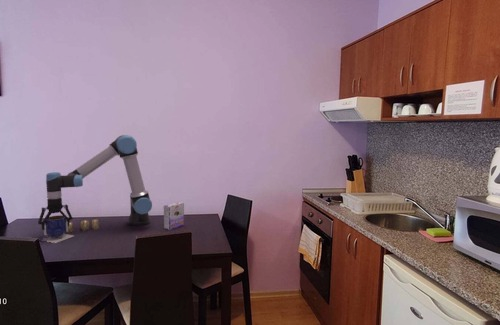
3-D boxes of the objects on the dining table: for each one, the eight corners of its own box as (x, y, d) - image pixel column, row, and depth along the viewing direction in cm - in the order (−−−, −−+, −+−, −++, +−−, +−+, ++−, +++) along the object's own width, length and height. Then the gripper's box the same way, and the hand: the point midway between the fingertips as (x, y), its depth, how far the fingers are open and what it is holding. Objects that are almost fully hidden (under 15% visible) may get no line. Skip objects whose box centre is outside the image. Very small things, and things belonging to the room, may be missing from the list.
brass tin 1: (74, 231, 214) (73, 222, 213) (69, 232, 210) (68, 223, 209) (69, 230, 215) (69, 221, 214) (64, 232, 211) (63, 223, 211)
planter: (69, 232, 205) (68, 215, 204) (62, 237, 194) (61, 219, 193) (50, 233, 203) (49, 215, 202) (42, 238, 192) (41, 220, 191)
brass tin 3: (99, 228, 221) (99, 219, 220) (95, 229, 217) (95, 221, 216) (95, 227, 222) (95, 219, 221) (90, 229, 218) (90, 220, 218)
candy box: (178, 224, 232) (178, 201, 231) (184, 225, 229) (184, 202, 227) (163, 228, 221) (163, 205, 219) (169, 230, 218) (169, 206, 216)
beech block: (89, 226, 224) (89, 220, 224) (86, 228, 220) (86, 222, 220) (83, 226, 224) (83, 220, 224) (80, 228, 220) (80, 222, 220)
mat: (74, 236, 203) (74, 235, 203) (54, 243, 190) (54, 242, 190) (57, 233, 208) (57, 233, 208) (37, 240, 195) (37, 239, 194)
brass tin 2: (89, 228, 218) (89, 220, 218) (84, 230, 215) (84, 221, 214) (84, 228, 220) (84, 219, 219) (80, 230, 216) (79, 221, 215)
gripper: (74, 194, 207) (75, 227, 209) (30, 199, 192) (32, 235, 194) (77, 196, 201) (78, 230, 204) (32, 201, 186) (34, 238, 188)
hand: (56, 232), depth 199 cm, fingers closed on planter, 11 cm apart
